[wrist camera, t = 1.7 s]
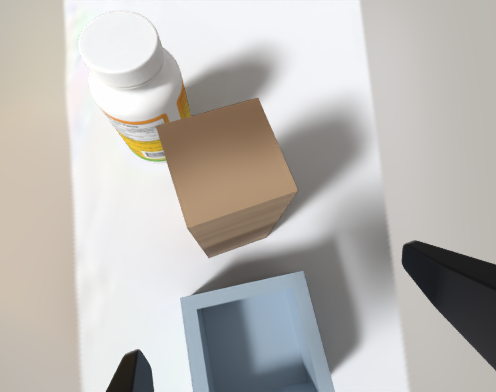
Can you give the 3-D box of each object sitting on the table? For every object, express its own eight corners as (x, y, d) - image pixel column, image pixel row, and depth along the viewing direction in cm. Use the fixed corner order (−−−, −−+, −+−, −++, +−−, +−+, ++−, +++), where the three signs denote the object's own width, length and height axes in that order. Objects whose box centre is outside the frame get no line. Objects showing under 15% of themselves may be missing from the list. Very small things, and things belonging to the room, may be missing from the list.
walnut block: (266, 237, 22) (298, 190, 12) (208, 258, 21) (187, 228, 11) (245, 183, 23) (257, 97, 13) (190, 201, 23) (155, 126, 12)
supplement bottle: (159, 95, 25) (118, -17, 16) (208, 131, 24) (194, 35, 15) (113, 139, 24) (38, 43, 15) (163, 178, 23) (117, 103, 14)
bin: (318, 386, 19) (339, 410, 15) (207, 416, 18) (201, 450, 15) (290, 273, 21) (303, 270, 18) (189, 296, 20) (180, 297, 17)
